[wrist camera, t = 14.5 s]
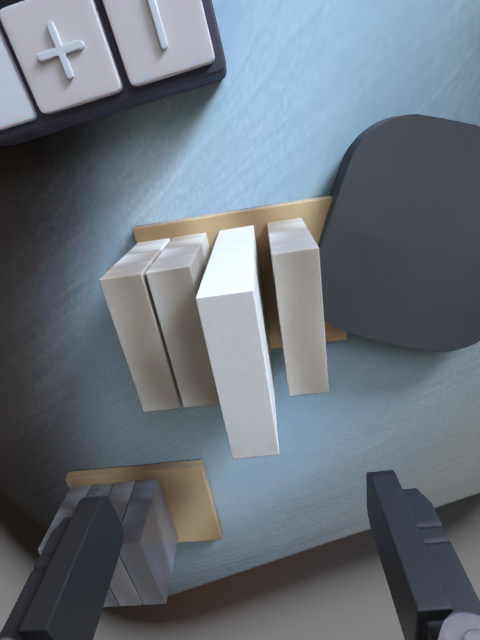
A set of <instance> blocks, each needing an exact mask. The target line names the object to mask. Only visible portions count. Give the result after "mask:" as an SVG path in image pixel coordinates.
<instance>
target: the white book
mask: <svg viewBox="0 0 480 640" xmlns="http://www.w3.org/2000/svg"><path fill="white" fill-rule="evenodd" d="M196 303H197V308H198V312H199V316H200V321H201V325H202V329H203V334H204V338H205V342H206V346H207V351H208V355H209V359H210V364H211V368H212V372H213V377H214V381H215V385H216V390H217V394H218V398H219V403H220V407H221V411H222V416H223V420H224V424H225V429H226V433H227V437H228V442H229V446H230V450H231V454H232V458H233V459H239V458H250V457H261V456H271V455H279V444H278V432H277V419H276V407H275V395H274V382H273V370H272V358H271V345H270V336H269V329H268V322H267V315H266V308H265V301H264V294H263V287H262V280H261V274H260V267H259V260H258V253H257V246H256V239H255V232H254V226H253V225H252V226H246V227H239V228H233V229H226V230H220V231H219V233H218V236H217V239H216V242H215V244H214V247H213V250H212V253H211V256H210V259H209V262H208V264H207V267H206V270H205V273H204V276H203V279H202V281H201V284H200V287H199V290H198V293H197V296H196Z"/></svg>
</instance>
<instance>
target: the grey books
mask: <svg viewBox="0 0 480 640" xmlns="http://www.w3.org/2000/svg"><path fill="white" fill-rule="evenodd" d="M65 481H66V483H67V485H68V487H69V491H68V492H67V494H66V496H65V498H64V500H63V502H62V504H61V506H60V508H59V510H58V512H57V514H56V516H55V518H54V519H53V521H52V523H51V525H50V527H49V529H48V531H47V533H46V535H45V537H44V539H43V541H42V543H41V545H40V546H39V548H38V552H39V553H40V555H42V550H43V548H44V546H45V544H46V542H47V540H48V538H49V536H50V534H51V533H52V532H53V531H54V530H55V528H56V527H57V526H58V525H59V524H60V523H61V522H62V520H63V519H64V518H65V517H72V515H73V513H74V511H75V509H76V506H77V504H78V502H79V501H80V500H81V499H82V498H83V497H91V496H102V495H107V496H109V498H110V499H111V502H112V504H113V506H114V508H115V511H116V513H117V515H118V517H119V520H120V522H121V524H122V527H123V544H122V548H121V552H120V555H119V558H118V561H117V564H116V568H115V571H114V574H113V577H112V580H111V583H110V587H109V590H108V593H107V596H106V599H105V602H104V606H103V607H111V606H119V605H120V606H130V605H142V604H144V605H148V604H166V602H167V596H168V591H169V586H170V580H171V575H172V570H173V564H174V559H175V553H176V548H177V543H179V542H192V541H206V540H220V539H222V532H223V531H222V528H221V524H220V520H219V517H218V513H217V510H216V506H215V502H214V499H213V495H212V491H211V488H210V484H209V481H208V477H207V473H206V470H205V466H204V463H203V460H202V459H199V460H189V461H178V462H168V463H157V464H146V465H136V466H125V467H114V468H104V469H93V470H83V471H72V472H68V474H67V476H66V478H65Z"/></svg>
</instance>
